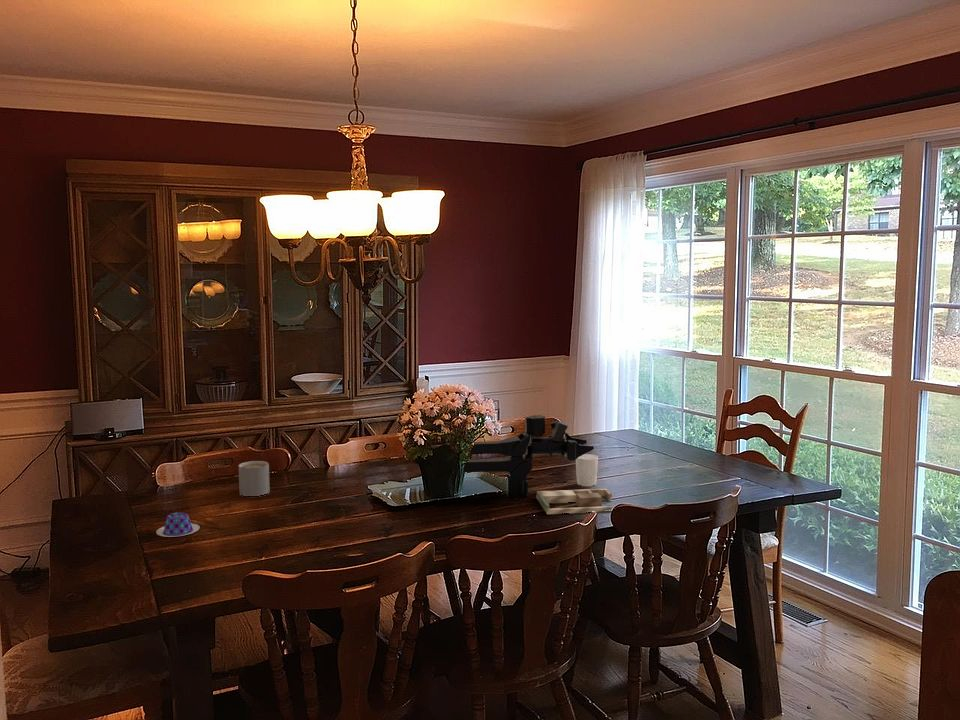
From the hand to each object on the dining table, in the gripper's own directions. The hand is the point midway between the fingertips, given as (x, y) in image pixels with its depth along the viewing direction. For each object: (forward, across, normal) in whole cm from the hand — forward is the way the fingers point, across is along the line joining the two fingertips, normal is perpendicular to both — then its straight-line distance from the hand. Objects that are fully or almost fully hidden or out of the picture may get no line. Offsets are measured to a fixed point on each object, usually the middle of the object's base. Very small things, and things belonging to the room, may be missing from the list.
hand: (590, 444), depth 271 cm
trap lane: (-7, -14, +17) cm, 23 cm away
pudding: (-130, -23, +18) cm, 134 cm away
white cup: (+2, +10, +17) cm, 20 cm away
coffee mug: (-114, +16, +17) cm, 117 cm away
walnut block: (-4, -16, +17) cm, 24 cm away
